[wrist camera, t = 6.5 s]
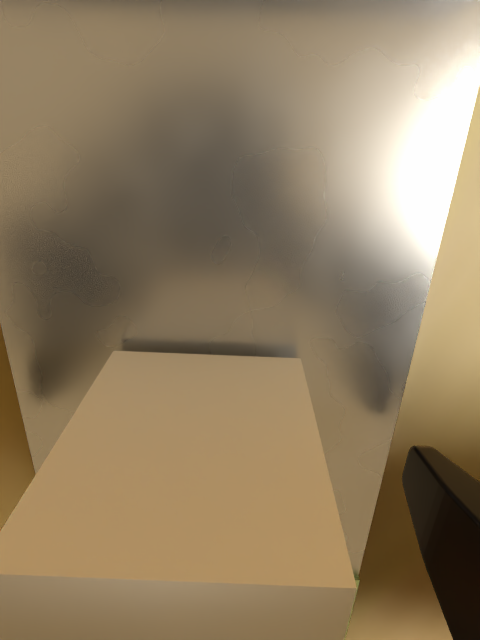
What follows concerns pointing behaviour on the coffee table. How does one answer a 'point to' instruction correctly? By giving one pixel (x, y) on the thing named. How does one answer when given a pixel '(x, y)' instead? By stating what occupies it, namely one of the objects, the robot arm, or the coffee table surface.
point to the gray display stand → (231, 198)
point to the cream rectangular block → (181, 511)
